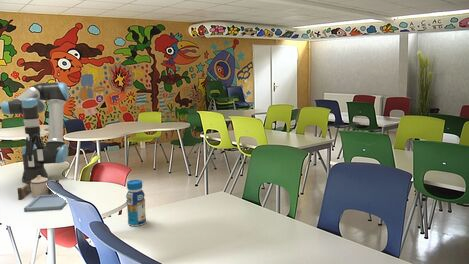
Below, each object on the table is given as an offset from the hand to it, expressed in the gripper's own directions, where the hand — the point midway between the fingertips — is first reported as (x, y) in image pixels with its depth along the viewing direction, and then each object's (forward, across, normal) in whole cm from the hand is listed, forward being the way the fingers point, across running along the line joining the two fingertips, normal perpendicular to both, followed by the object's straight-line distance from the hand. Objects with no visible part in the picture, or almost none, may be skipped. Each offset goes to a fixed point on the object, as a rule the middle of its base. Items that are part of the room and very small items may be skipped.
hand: (36, 163), depth 223 cm
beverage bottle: (+18, +51, +61) cm, 82 cm away
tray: (+18, +17, +11) cm, 27 cm away
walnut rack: (+18, 0, 0) cm, 18 cm away
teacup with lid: (+19, 0, 0) cm, 19 cm away
